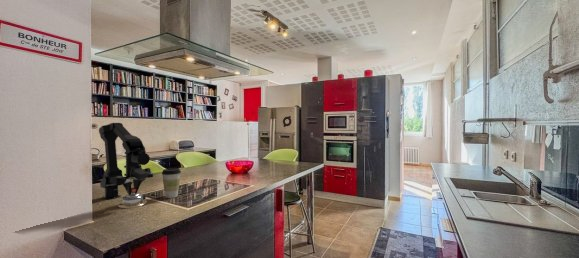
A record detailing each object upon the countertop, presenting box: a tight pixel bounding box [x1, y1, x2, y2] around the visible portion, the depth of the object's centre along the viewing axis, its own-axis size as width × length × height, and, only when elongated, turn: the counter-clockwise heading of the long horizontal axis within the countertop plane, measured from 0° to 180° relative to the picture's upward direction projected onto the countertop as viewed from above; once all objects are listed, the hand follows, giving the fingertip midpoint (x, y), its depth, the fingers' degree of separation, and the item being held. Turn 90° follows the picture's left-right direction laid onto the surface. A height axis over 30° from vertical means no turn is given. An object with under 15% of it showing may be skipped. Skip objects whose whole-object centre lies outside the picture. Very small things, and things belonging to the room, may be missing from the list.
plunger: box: [125, 187, 141, 198], centre depth 124 cm, size 6×6×4 cm
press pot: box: [118, 193, 148, 209], centre depth 124 cm, size 12×12×4 cm
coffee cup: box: [161, 167, 182, 199], centre depth 138 cm, size 10×10×15 cm
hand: (132, 194), depth 124 cm, fingers closed on plunger, 3 cm apart
